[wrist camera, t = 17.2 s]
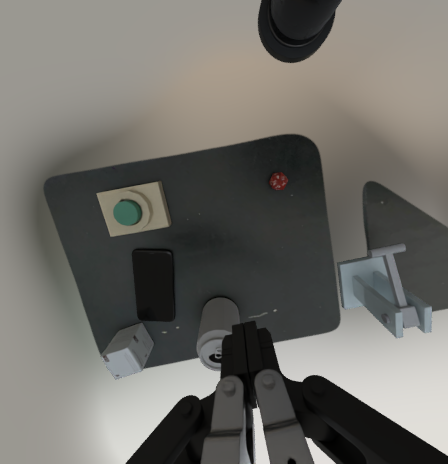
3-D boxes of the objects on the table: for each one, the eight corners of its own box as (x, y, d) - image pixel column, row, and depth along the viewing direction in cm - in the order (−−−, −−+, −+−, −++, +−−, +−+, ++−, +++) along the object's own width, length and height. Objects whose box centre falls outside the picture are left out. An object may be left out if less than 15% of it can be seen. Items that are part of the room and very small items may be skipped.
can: (200, 322, 48) (191, 371, 36) (206, 291, 46) (199, 333, 34) (234, 329, 48) (236, 379, 36) (242, 299, 46) (247, 342, 35)
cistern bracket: (336, 262, 44) (380, 299, 31) (384, 252, 43) (447, 286, 31) (341, 306, 46) (383, 355, 34) (386, 297, 45) (445, 345, 33)
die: (266, 174, 39) (270, 174, 36) (284, 170, 39) (288, 171, 36) (269, 190, 40) (272, 192, 37) (286, 187, 40) (290, 189, 37)
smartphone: (175, 319, 48) (173, 249, 43) (174, 322, 47) (172, 251, 42) (138, 318, 48) (132, 248, 43) (137, 321, 47) (130, 249, 42)
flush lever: (364, 249, 36) (372, 249, 34) (396, 243, 36) (407, 242, 34) (385, 324, 35) (395, 330, 33) (417, 318, 35) (430, 324, 32)
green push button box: (161, 181, 40) (154, 182, 36) (172, 223, 42) (166, 229, 38) (102, 192, 41) (89, 194, 37) (116, 233, 43) (105, 240, 39)
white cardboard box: (155, 343, 49) (142, 372, 42) (131, 351, 50) (115, 381, 43) (142, 321, 48) (127, 347, 41) (117, 330, 49) (98, 357, 42)
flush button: (137, 198, 37) (133, 199, 35) (144, 221, 38) (140, 223, 37) (115, 202, 37) (109, 203, 36) (122, 225, 38) (117, 227, 37)
